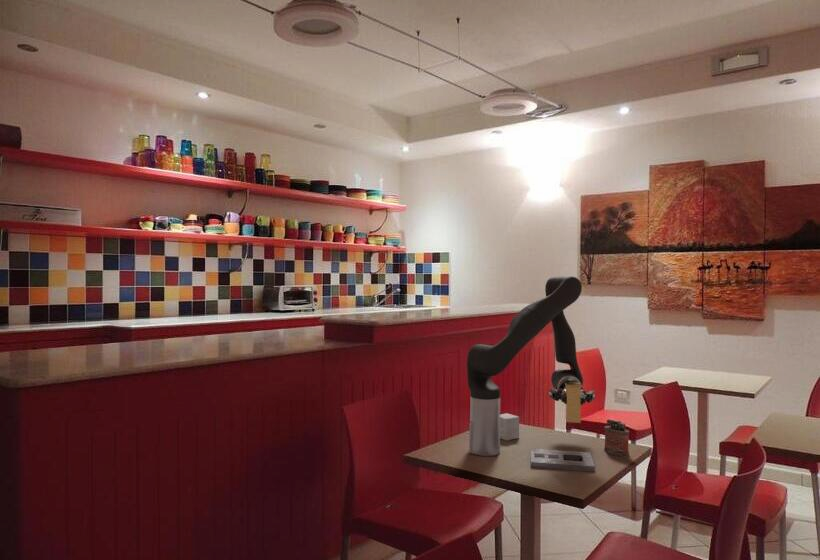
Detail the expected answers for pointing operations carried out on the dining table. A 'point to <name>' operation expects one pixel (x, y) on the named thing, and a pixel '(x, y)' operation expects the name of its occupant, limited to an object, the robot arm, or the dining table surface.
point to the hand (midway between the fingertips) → (573, 400)
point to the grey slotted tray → (562, 460)
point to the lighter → (616, 438)
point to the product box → (509, 426)
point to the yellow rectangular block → (573, 402)
